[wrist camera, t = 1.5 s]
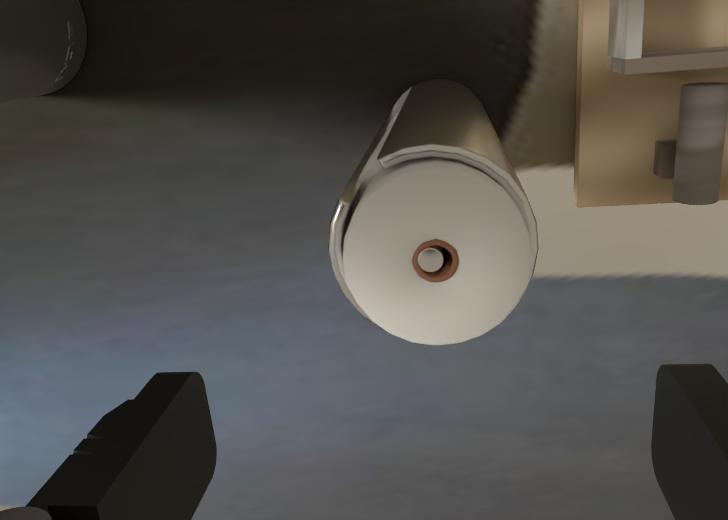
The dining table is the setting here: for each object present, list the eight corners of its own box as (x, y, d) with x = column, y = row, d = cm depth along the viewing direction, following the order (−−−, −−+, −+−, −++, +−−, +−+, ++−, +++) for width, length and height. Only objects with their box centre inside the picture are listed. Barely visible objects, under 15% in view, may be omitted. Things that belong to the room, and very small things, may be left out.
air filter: (474, 65, 40) (517, 121, 17) (497, 163, 42) (564, 333, 19) (376, 95, 42) (292, 184, 18) (403, 188, 44) (358, 376, 20)
